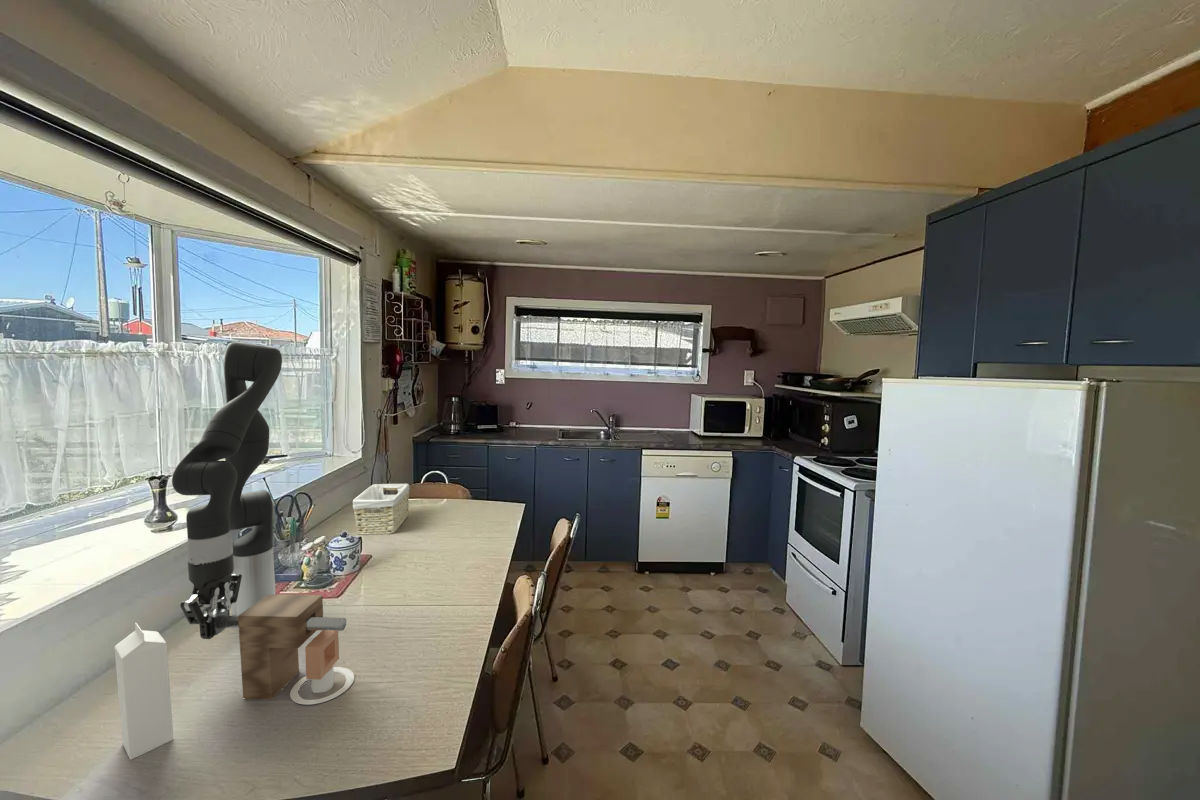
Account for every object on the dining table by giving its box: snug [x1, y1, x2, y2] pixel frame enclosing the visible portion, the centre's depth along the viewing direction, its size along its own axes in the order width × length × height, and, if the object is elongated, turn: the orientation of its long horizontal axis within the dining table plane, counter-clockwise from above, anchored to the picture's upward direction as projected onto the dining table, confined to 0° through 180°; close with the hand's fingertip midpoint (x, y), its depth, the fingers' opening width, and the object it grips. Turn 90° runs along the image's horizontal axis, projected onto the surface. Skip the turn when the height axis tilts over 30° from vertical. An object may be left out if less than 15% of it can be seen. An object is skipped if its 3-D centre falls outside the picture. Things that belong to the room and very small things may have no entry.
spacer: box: [304, 630, 340, 680], centre depth 105 cm, size 3×7×7 cm, turn 179°
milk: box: [114, 622, 174, 761], centre depth 89 cm, size 6×6×22 cm
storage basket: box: [352, 483, 410, 536], centre depth 203 cm, size 24×16×15 cm
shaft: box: [204, 608, 347, 636], centre depth 105 cm, size 29×4×4 cm, turn 89°
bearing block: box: [238, 593, 324, 701], centre depth 105 cm, size 12×9×18 cm
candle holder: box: [289, 665, 355, 706], centre depth 106 cm, size 12×12×4 cm
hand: (215, 632), depth 105 cm, fingers closed on shaft, 3 cm apart
